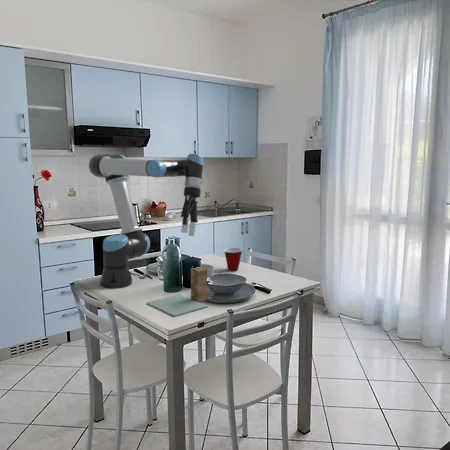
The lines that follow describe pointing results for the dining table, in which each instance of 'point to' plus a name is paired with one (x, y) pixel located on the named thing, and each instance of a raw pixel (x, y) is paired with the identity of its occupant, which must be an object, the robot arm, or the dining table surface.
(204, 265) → the teacup
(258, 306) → the dining table surface
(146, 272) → the dining table surface
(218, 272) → the dining table surface
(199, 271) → the walnut block
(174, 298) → the rubber mat
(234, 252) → the plastic cup
